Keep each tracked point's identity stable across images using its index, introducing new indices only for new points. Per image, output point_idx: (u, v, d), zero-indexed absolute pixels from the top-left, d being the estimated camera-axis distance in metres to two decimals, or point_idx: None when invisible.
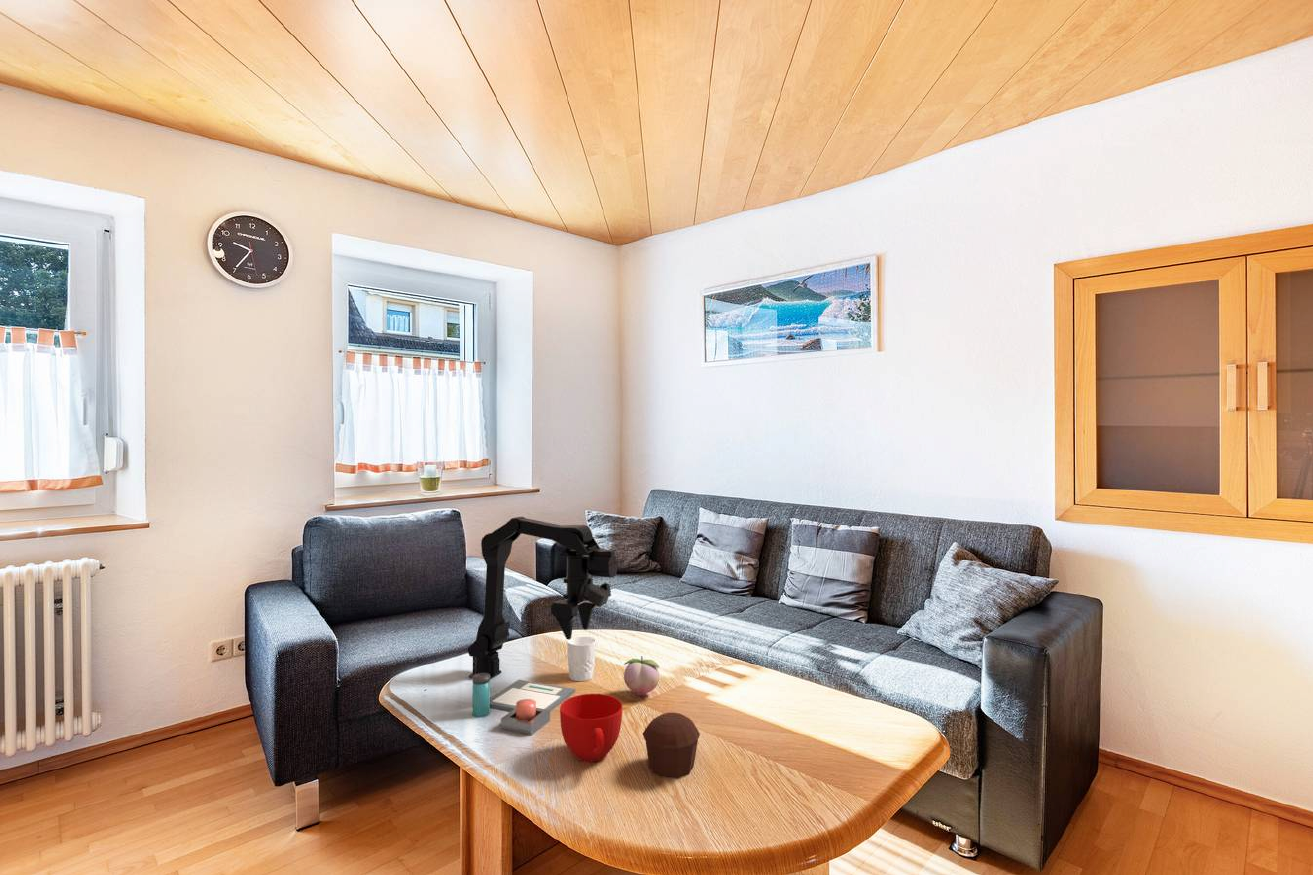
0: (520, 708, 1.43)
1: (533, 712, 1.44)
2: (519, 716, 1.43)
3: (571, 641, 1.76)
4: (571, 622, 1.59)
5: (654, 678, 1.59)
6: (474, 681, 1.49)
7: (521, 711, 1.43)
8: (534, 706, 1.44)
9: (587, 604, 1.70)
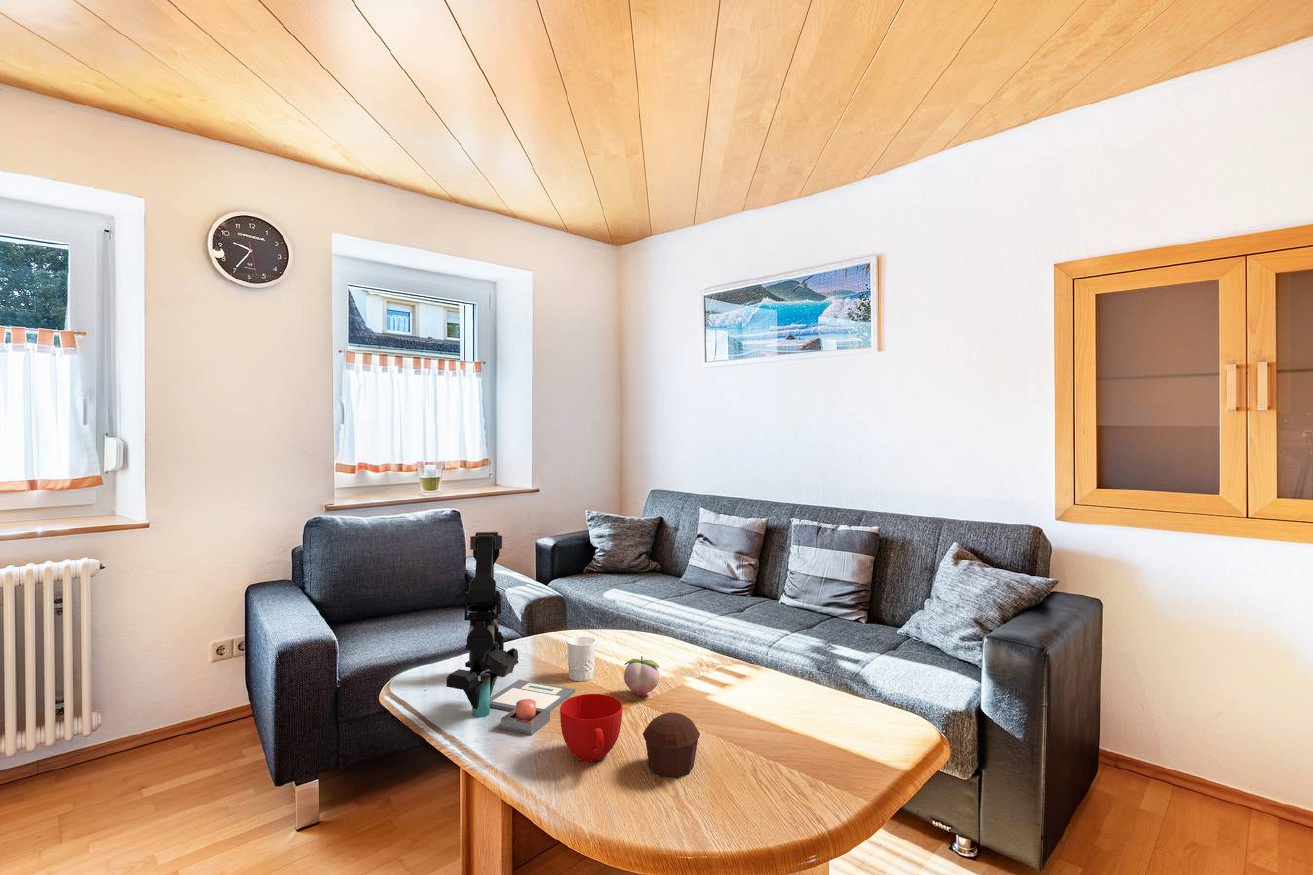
0: (520, 708, 1.43)
1: (533, 712, 1.44)
2: (519, 716, 1.43)
3: (571, 641, 1.76)
4: (477, 691, 1.47)
5: (654, 678, 1.59)
6: None
7: (521, 711, 1.43)
8: (534, 706, 1.44)
9: (489, 673, 1.53)
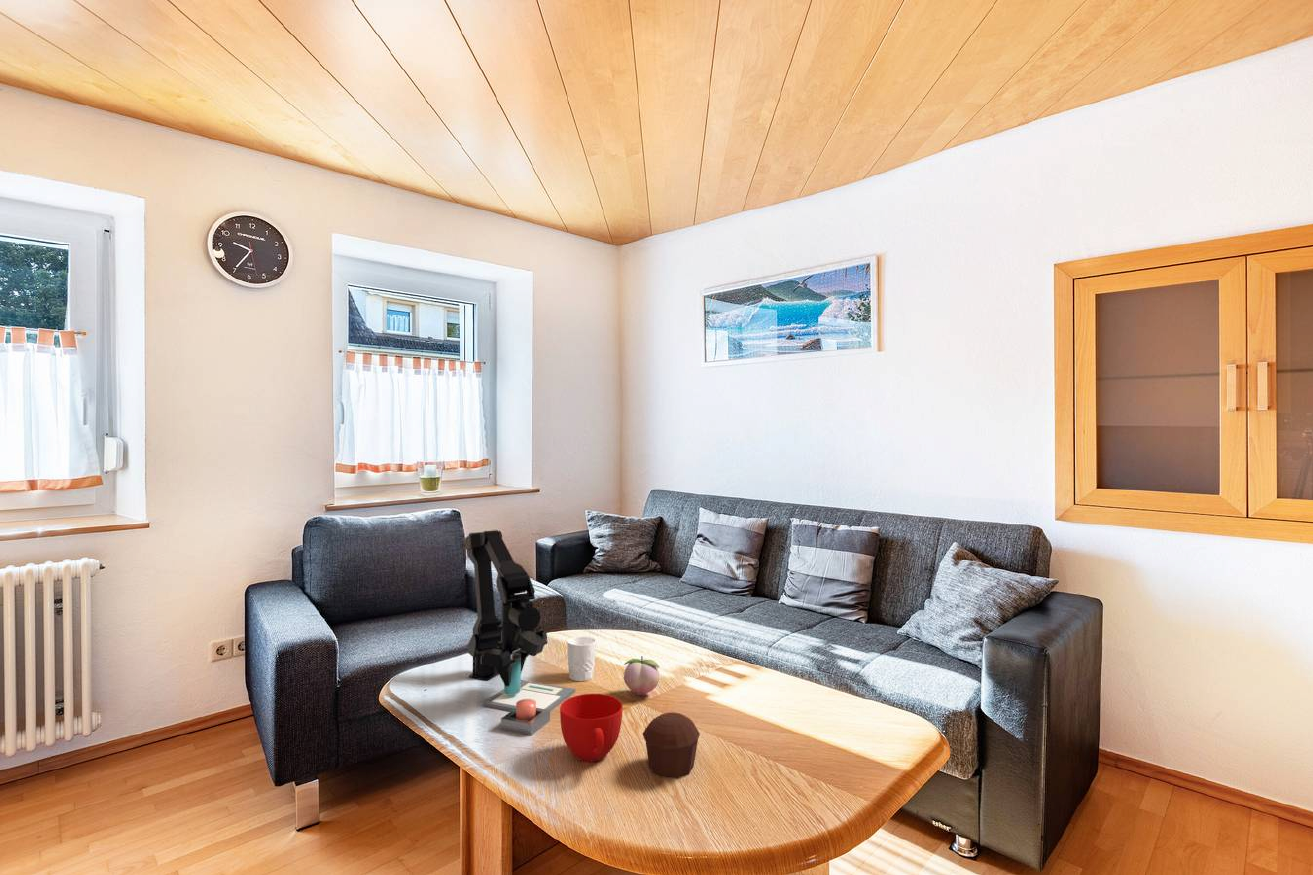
0: (520, 708, 1.43)
1: (533, 712, 1.44)
2: (519, 716, 1.43)
3: (571, 641, 1.76)
4: (509, 669, 1.55)
5: (654, 678, 1.59)
6: None
7: (521, 711, 1.43)
8: (534, 706, 1.44)
9: None
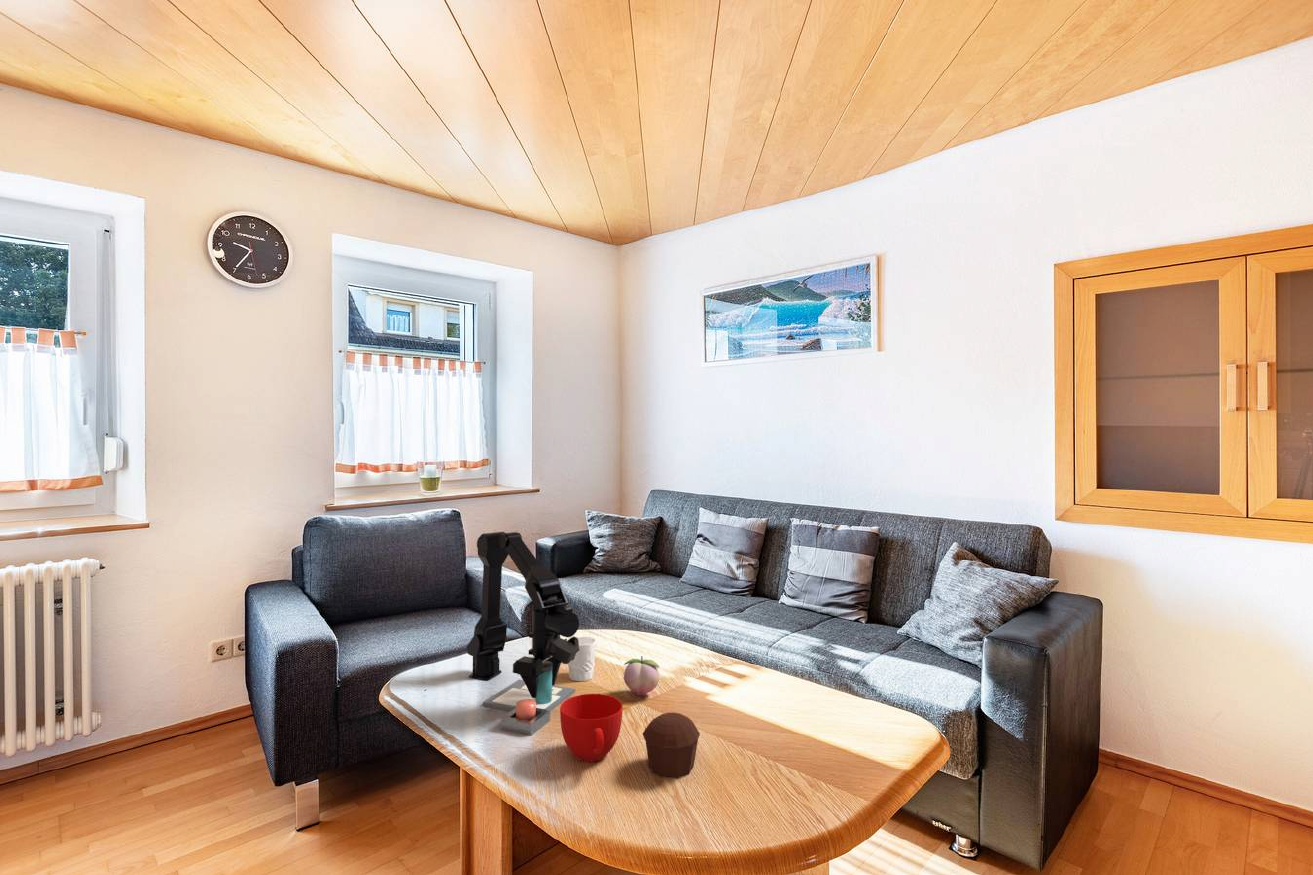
0: (520, 708, 1.43)
1: (533, 712, 1.44)
2: (519, 716, 1.43)
3: None
4: (536, 680, 1.50)
5: (654, 678, 1.59)
6: None
7: (521, 711, 1.43)
8: (534, 706, 1.44)
9: (554, 658, 1.60)
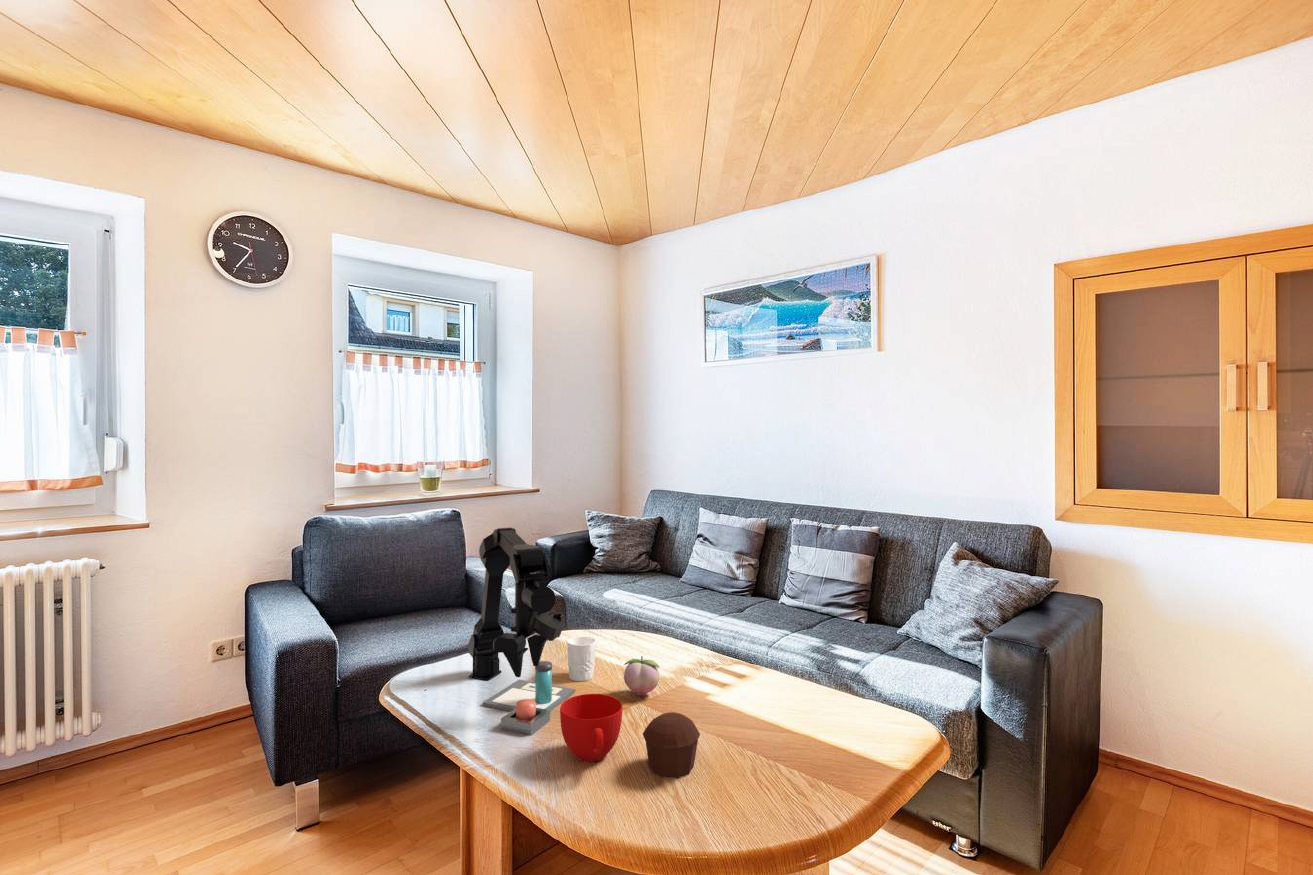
0: (520, 708, 1.43)
1: (533, 712, 1.44)
2: (519, 716, 1.43)
3: (571, 641, 1.76)
4: (520, 658, 1.40)
5: (654, 678, 1.59)
6: (537, 669, 1.54)
7: (521, 711, 1.43)
8: (534, 706, 1.44)
9: (538, 637, 1.49)
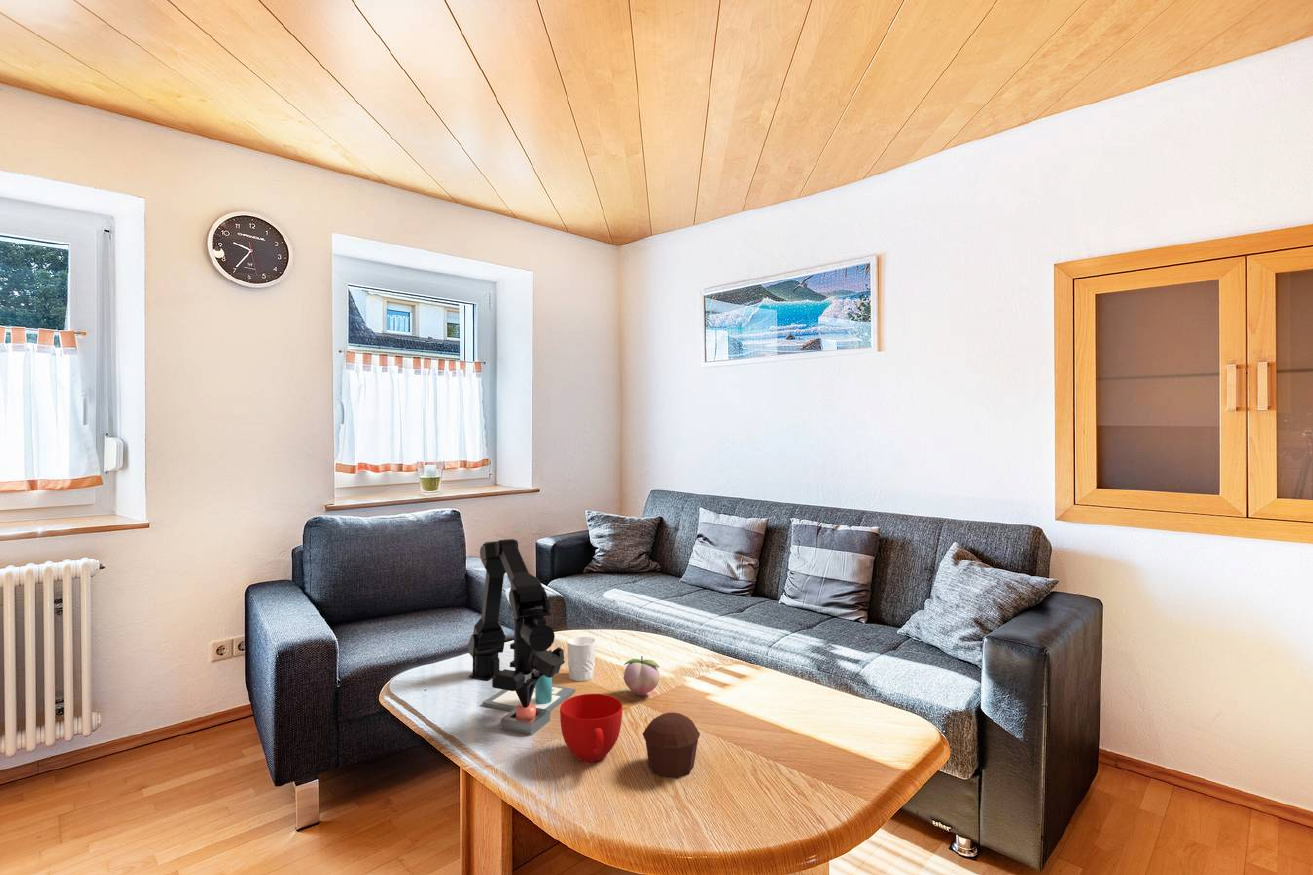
0: (520, 712, 1.43)
1: (533, 716, 1.44)
2: None
3: (571, 641, 1.76)
4: (528, 689, 1.43)
5: (654, 678, 1.59)
6: None
7: (521, 715, 1.43)
8: (534, 710, 1.44)
9: None
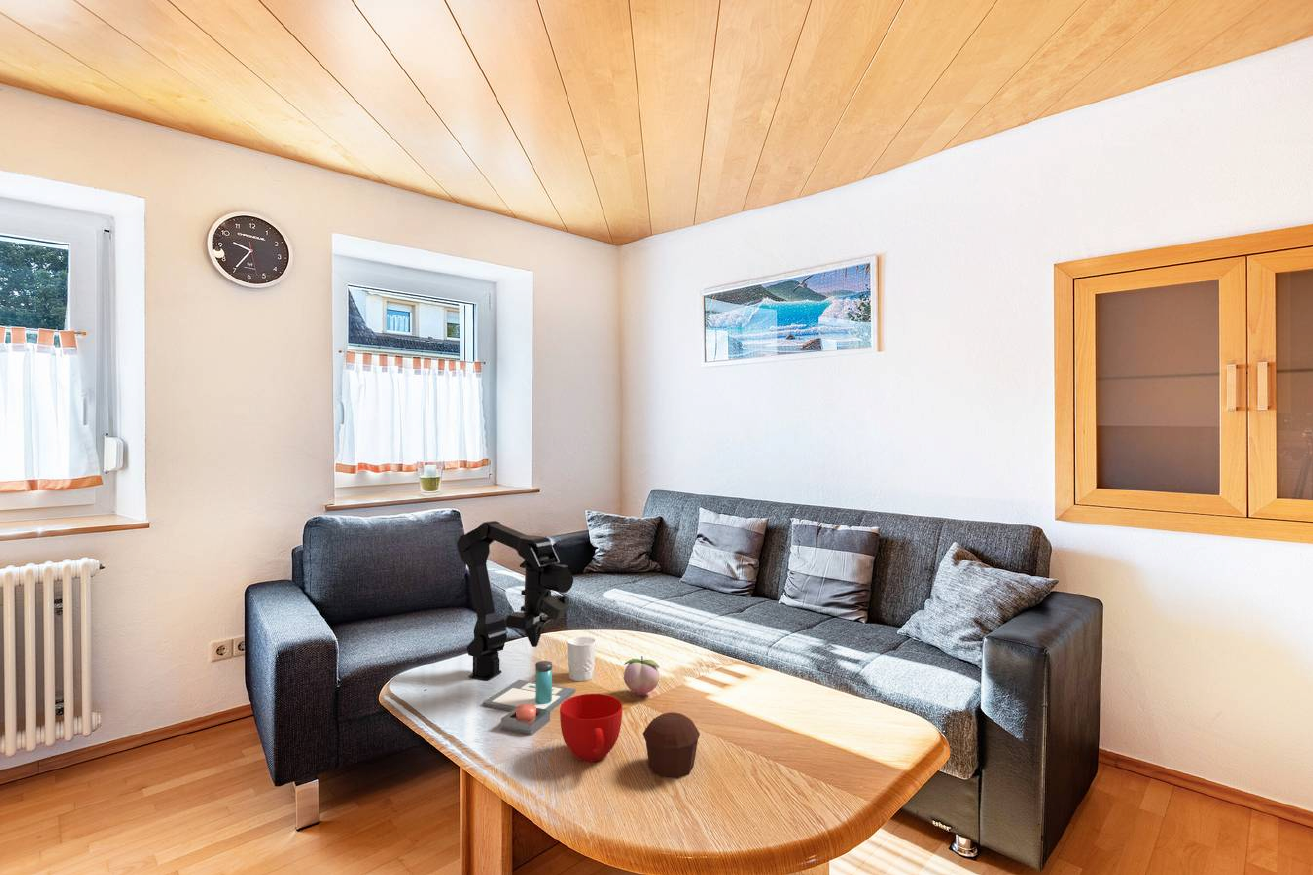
0: (520, 713, 1.43)
1: (533, 717, 1.44)
2: None
3: (571, 641, 1.76)
4: (536, 630, 1.62)
5: (654, 678, 1.59)
6: (537, 668, 1.54)
7: (521, 716, 1.43)
8: (534, 711, 1.44)
9: None
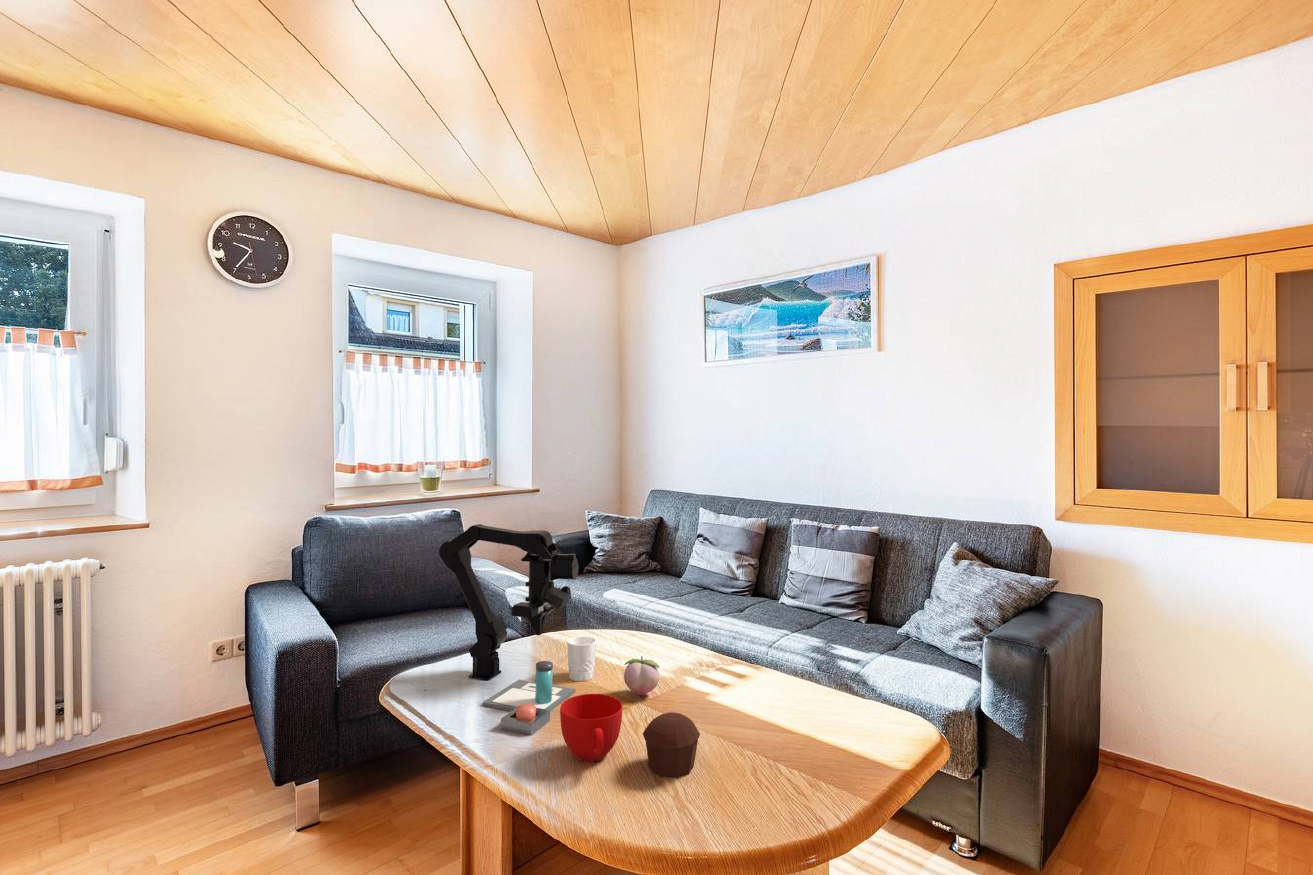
0: (520, 713, 1.43)
1: (533, 717, 1.44)
2: None
3: (571, 641, 1.76)
4: (540, 619, 1.71)
5: (654, 678, 1.59)
6: (538, 668, 1.54)
7: (521, 716, 1.43)
8: (534, 711, 1.44)
9: None
